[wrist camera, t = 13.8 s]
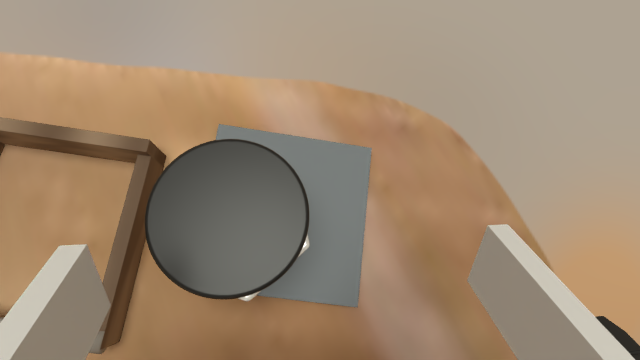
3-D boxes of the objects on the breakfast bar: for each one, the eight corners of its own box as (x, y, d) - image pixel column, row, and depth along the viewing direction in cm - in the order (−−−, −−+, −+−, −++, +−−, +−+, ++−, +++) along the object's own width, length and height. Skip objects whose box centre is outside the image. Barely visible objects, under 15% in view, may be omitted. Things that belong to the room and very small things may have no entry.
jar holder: (-81, 324, 25) (-146, 335, 21) (-4, 130, 29) (-47, 110, 25) (118, 345, 26) (90, 358, 22) (166, 156, 30) (149, 139, 26)
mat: (185, 286, 28) (184, 286, 27) (220, 126, 31) (218, 124, 31) (356, 306, 29) (357, 307, 28) (369, 150, 33) (371, 148, 32)
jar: (259, 164, 30) (247, 102, 19) (321, 235, 29) (348, 216, 18) (173, 232, 28) (98, 210, 16) (237, 311, 27) (206, 345, 16)
